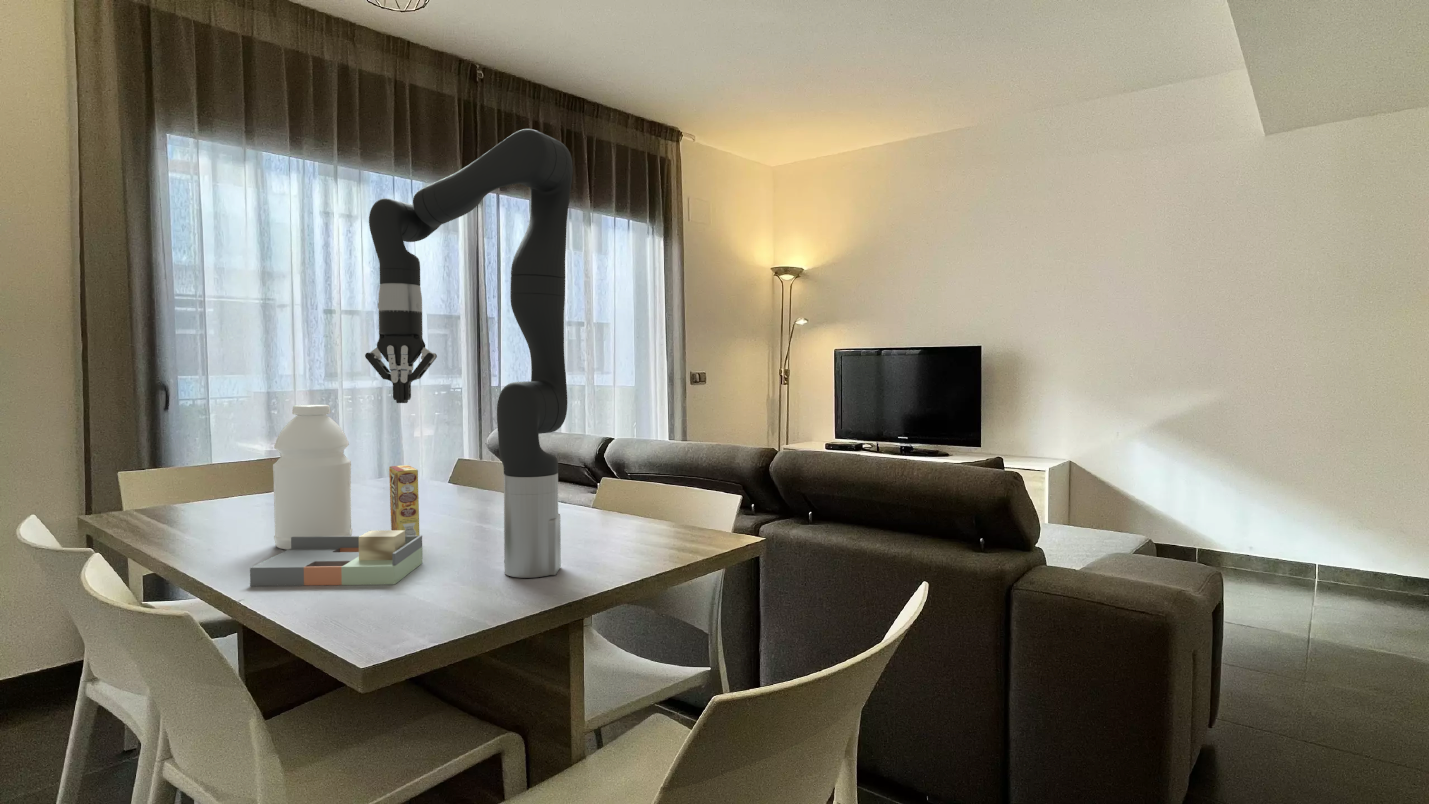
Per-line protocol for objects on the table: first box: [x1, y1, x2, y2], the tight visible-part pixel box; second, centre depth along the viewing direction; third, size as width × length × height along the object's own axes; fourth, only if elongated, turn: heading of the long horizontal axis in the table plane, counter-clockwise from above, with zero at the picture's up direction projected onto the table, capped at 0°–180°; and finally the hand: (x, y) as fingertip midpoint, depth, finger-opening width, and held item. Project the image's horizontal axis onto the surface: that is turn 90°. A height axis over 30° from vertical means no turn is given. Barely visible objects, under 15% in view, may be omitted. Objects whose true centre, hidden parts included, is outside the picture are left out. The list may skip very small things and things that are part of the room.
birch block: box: [358, 529, 405, 560], centre depth 132 cm, size 6×5×4 cm
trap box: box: [249, 535, 423, 587], centre depth 132 cm, size 23×14×5 cm, turn 93°
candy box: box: [388, 464, 421, 536], centre depth 156 cm, size 9×4×15 cm, turn 33°
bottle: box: [272, 404, 353, 551], centre depth 155 cm, size 14×14×28 cm
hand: (401, 402), depth 143 cm, fingers closed
